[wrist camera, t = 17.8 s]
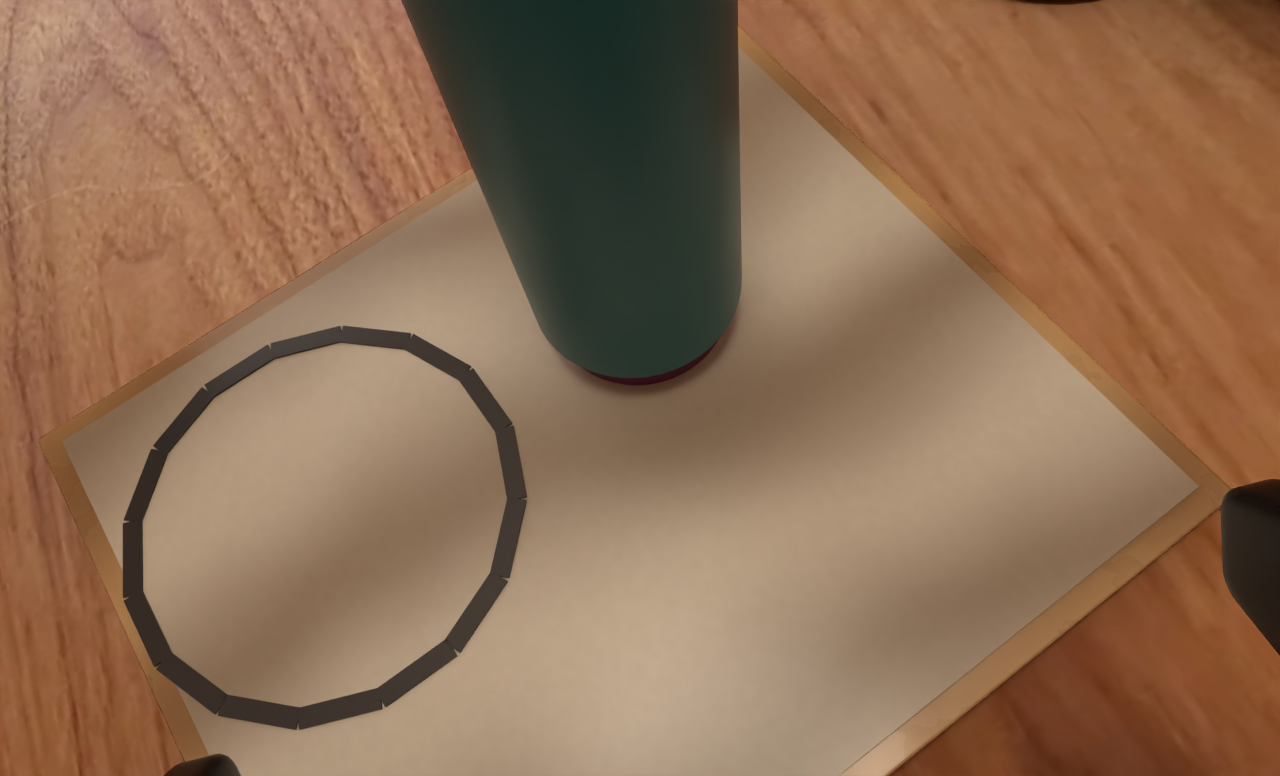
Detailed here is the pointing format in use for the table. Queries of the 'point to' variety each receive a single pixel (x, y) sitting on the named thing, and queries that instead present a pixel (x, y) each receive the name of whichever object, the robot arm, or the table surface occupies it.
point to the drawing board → (622, 499)
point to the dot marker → (604, 165)
